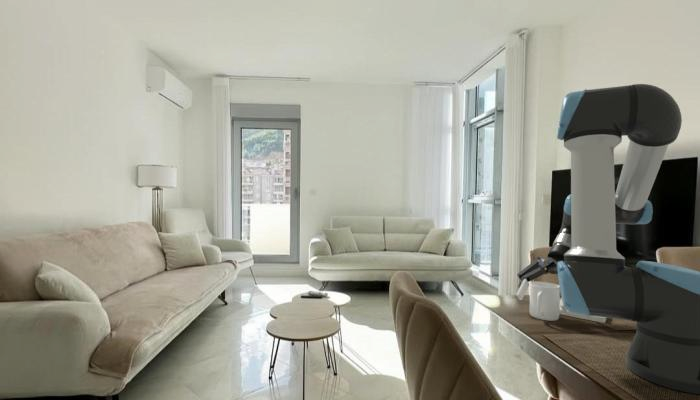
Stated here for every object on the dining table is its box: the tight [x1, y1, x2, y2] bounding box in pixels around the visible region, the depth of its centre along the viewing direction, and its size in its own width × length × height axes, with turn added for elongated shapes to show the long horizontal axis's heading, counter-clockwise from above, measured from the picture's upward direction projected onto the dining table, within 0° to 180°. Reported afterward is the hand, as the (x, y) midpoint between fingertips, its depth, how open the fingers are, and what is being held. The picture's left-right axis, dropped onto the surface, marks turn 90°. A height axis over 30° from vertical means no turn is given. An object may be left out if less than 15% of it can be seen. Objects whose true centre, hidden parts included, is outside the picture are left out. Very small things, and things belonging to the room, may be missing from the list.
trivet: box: [559, 297, 608, 324], centre depth 115 cm, size 15×14×2 cm
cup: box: [528, 281, 561, 322], centre depth 109 cm, size 8×12×10 cm
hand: (539, 302), depth 108 cm, fingers open, 13 cm apart
